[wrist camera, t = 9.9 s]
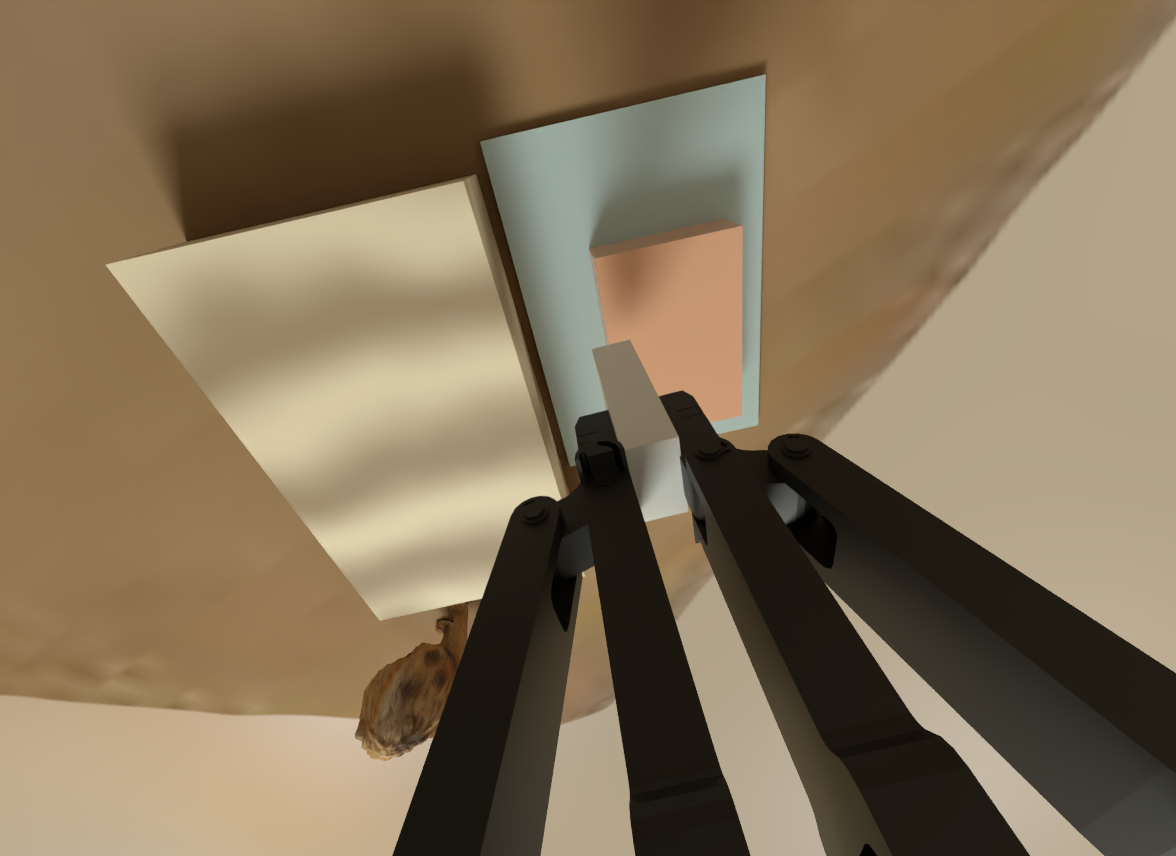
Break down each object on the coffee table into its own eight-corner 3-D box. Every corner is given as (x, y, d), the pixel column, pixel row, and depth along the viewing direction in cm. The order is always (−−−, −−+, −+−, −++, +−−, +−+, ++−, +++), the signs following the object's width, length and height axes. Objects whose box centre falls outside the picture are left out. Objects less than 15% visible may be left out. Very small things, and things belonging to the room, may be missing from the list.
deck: (185, 241, 18) (105, 264, 14) (476, 173, 18) (463, 180, 14) (397, 565, 29) (379, 620, 25) (578, 525, 29) (584, 576, 25)
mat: (480, 141, 17) (479, 141, 17) (762, 75, 17) (765, 74, 17) (569, 463, 26) (570, 466, 26) (756, 422, 26) (758, 425, 25)
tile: (742, 225, 18) (724, 218, 19) (594, 258, 18) (588, 248, 19) (742, 415, 22) (727, 396, 24) (625, 441, 23) (619, 420, 24)
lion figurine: (377, 622, 32) (328, 771, 24) (408, 578, 30) (366, 726, 22) (550, 671, 37) (554, 804, 30) (587, 637, 35) (601, 771, 28)
